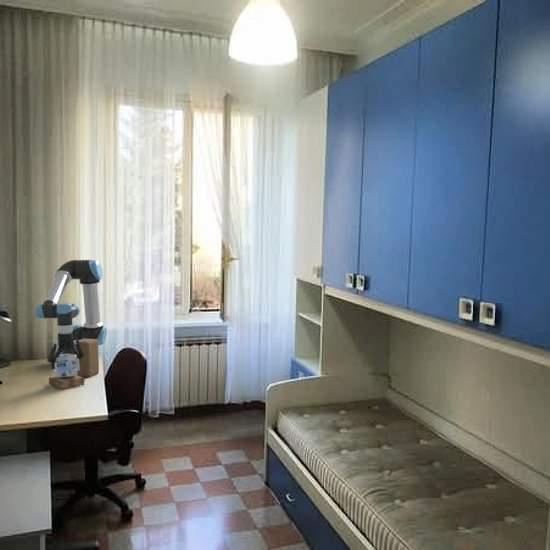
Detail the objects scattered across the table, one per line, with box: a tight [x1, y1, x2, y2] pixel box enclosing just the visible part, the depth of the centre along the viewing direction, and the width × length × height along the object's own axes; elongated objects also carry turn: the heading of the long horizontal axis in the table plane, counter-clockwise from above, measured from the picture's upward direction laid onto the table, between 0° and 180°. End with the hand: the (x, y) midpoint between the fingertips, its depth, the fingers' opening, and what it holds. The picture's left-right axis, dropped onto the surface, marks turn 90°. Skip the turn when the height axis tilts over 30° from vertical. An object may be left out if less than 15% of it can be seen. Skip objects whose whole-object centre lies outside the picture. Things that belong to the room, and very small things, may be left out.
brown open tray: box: [48, 375, 85, 391], centre depth 301 cm, size 13×13×4 cm
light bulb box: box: [55, 354, 77, 378], centre depth 301 cm, size 11×7×11 cm, turn 117°
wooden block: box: [74, 338, 100, 378], centre depth 322 cm, size 10×10×20 cm
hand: (66, 372), depth 301 cm, fingers closed on light bulb box, 12 cm apart
